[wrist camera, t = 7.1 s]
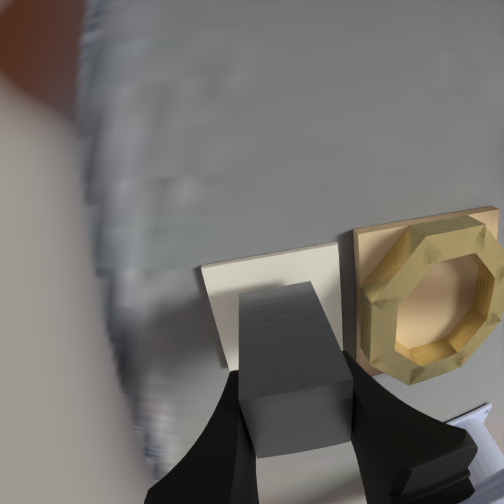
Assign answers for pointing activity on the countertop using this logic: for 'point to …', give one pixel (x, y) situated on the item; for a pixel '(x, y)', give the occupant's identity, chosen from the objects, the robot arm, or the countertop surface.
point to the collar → (405, 280)
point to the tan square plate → (421, 283)
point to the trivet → (269, 276)
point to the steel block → (291, 372)
